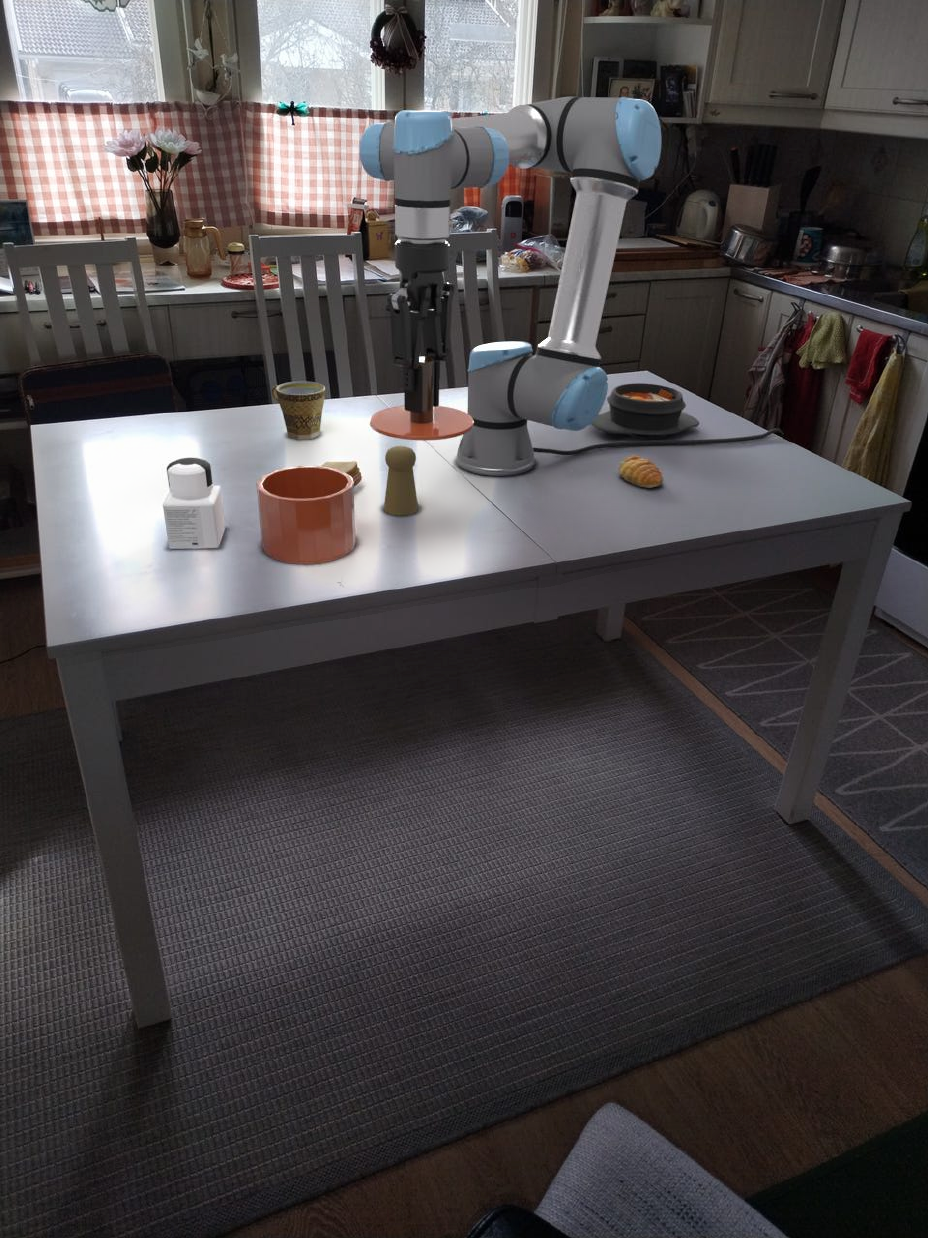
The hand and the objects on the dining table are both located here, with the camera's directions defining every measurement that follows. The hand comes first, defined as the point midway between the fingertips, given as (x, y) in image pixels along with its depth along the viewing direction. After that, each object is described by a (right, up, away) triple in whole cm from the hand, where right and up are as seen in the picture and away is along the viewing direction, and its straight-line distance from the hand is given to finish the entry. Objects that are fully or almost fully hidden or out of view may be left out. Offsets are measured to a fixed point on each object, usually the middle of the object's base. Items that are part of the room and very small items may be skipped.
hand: (421, 407), depth 137 cm
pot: (-18, -20, +10) cm, 29 cm away
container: (-36, -19, +11) cm, 42 cm away
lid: (0, -2, +1) cm, 2 cm away
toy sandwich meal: (-19, -8, +31) cm, 37 cm away
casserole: (+46, +10, +66) cm, 80 cm away
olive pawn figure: (-5, -12, +24) cm, 27 cm away
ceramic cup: (-29, +7, +57) cm, 65 cm away
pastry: (+40, -5, +39) cm, 56 cm away
